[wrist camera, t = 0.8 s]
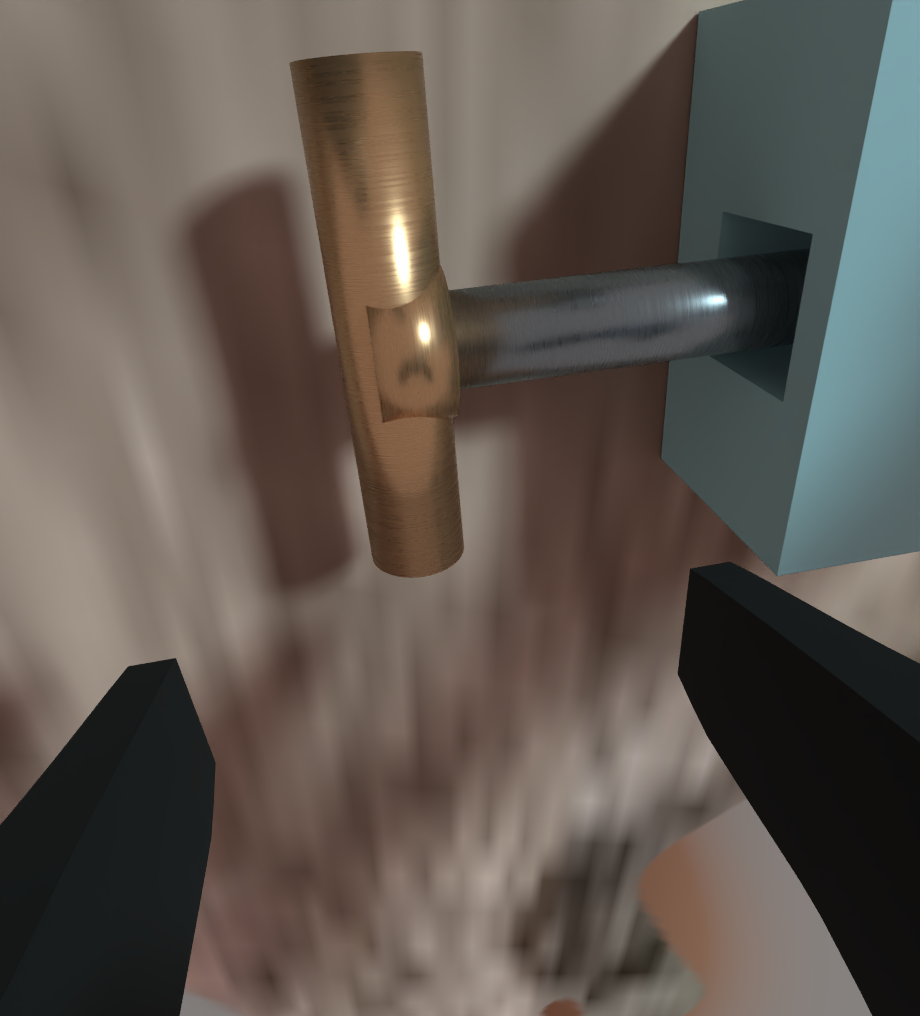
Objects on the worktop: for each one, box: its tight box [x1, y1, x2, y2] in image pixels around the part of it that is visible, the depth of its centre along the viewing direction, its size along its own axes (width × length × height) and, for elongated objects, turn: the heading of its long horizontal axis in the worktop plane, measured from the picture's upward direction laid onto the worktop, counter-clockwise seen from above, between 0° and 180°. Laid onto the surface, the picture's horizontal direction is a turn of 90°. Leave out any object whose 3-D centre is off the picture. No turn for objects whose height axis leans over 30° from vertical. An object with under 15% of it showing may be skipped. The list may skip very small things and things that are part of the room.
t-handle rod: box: [289, 51, 810, 578], centre depth 13 cm, size 14×9×3 cm, turn 95°
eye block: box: [661, 0, 920, 576], centre depth 14 cm, size 4×10×6 cm, turn 5°
